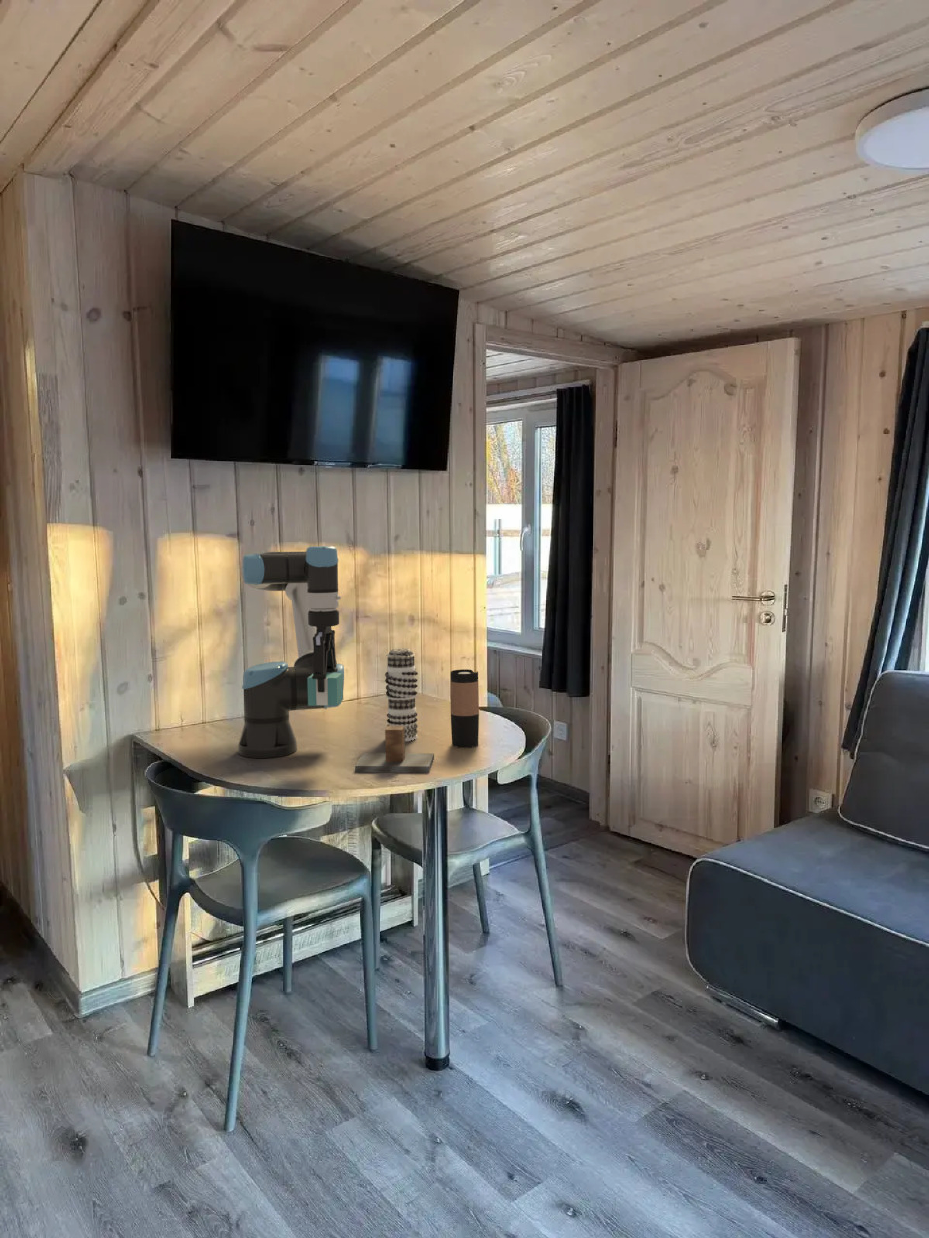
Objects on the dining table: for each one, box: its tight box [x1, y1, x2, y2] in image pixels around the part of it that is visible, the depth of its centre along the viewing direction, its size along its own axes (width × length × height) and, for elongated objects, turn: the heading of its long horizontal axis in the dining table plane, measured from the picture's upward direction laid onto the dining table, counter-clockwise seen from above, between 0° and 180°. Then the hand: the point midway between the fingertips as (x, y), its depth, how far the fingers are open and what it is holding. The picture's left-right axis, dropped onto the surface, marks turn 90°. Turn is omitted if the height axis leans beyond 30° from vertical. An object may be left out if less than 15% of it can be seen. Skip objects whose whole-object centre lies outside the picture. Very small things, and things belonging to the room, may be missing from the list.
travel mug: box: [450, 668, 480, 748], centre depth 232 cm, size 8×8×20 cm
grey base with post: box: [354, 725, 435, 774], centre depth 213 cm, size 18×12×10 cm, turn 87°
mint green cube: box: [307, 673, 344, 707], centre depth 213 cm, size 7×7×7 cm
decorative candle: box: [384, 648, 419, 742], centre depth 240 cm, size 9×9×25 cm
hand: (326, 701), depth 213 cm, fingers closed on mint green cube, 7 cm apart
